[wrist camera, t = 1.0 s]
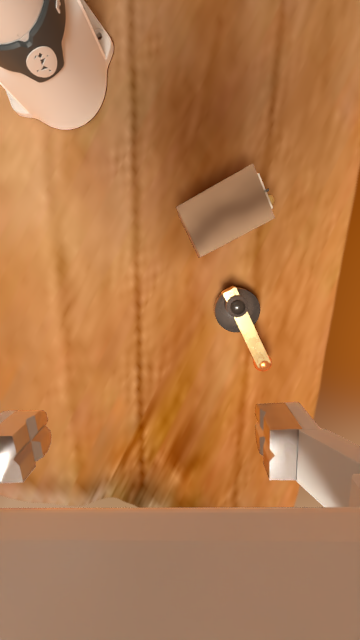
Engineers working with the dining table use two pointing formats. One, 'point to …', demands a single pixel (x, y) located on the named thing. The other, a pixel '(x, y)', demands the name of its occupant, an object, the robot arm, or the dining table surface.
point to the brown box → (226, 211)
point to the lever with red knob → (242, 321)
